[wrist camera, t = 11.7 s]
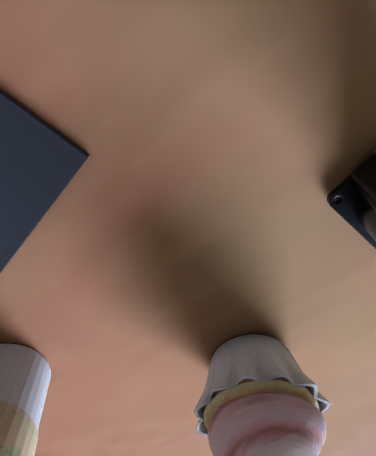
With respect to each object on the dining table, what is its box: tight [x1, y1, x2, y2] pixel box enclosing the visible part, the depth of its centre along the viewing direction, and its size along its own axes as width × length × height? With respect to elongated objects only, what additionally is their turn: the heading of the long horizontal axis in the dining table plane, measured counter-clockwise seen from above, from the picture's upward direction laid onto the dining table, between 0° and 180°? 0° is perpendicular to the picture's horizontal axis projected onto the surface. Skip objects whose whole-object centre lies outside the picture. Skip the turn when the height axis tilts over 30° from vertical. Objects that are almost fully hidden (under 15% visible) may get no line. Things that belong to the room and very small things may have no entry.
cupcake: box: [194, 334, 331, 456], centre depth 24 cm, size 9×9×10 cm
